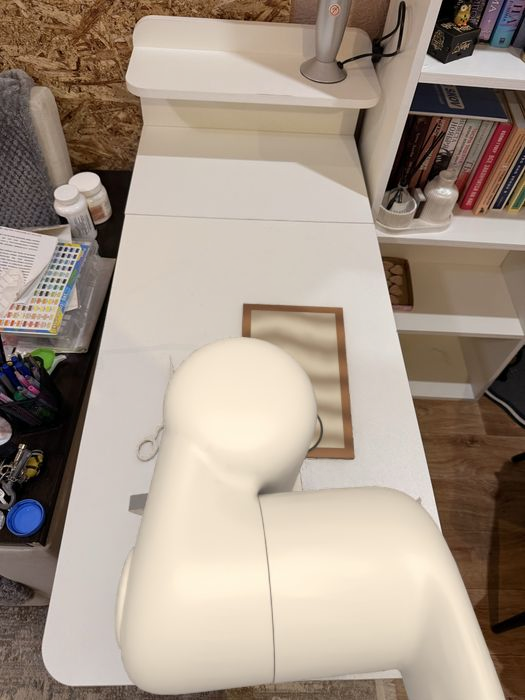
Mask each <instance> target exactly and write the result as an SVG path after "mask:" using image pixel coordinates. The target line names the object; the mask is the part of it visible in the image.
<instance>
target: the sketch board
mask: <svg viewBox="0 0 525 700" xmlns="http://www.w3.org/2000/svg"><path fill="white" fill-rule="evenodd" d="M241 324H242V325H241V337H247V338H255V339H259V340H263V341H267V342H269V343H271V344H274V345H276V346H278V347H280V348H281V349H283V350H284V351H286V352H287V353H289V354H290V355H291V356H292V357H293V358H294V359H295V360H296V361H297V362H298V363H299V364H300V365H301V366H302V368H303V369H304V371H305V372H306V374H307V375H308V377H309V379H310V381H311V383H312V386H313V388H314V392H315V396H316V401H317V423H316V428H315V432H314V436H313V439H312V442H311V444H310V447H309V449H308V452H307V454H306V457H305V459H326V460H327V459H329V460H330V459H331V460H332V459H333V460H355V444H354V434H353V433H354V432H353V420H352V419H353V418H352V408H351V396H350V383H349V368H348V358H347V345H346V333H345V332H346V331H345V321H344V307H341V306H340V307H339V306H338V307H337V306H316V305H315V306H313V305H312V306H311V305H291V304H289V305H288V304H271V303H269V304H265V303H245V302H244V303H243V304H242V323H241Z"/></svg>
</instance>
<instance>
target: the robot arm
mask: <svg viewBox="0 0 525 700" xmlns="http://www.w3.org/2000/svg"><path fill="white" fill-rule="evenodd" d="M162 423H164V427H163V428H162V433H161V437H160V441H159V445H158V447H159V448H158V451H157V455H156V459H155V463H154V466H153V467H154V468H153V473H152V477H151V480H150V485H149V489H148V493H147V492H146V493H139V494H132V495H130V496H129V503H128V510H127V511H128V512H129V513H132V514H134V515H137V516H141V520H140V523H139V528H138V531H137V535H136V540H135V543H134V546H132V548H131V549H130V550H129V552H128V554H127V556H126V559H125V560H124V563H123V566H122V569H121V573H120V576H119V580H118V585H117V591H116V599H115V606H114V633H115V634H114V635H115V639H116V644H117V647H118V649H119V650H120V657H121V661H122V664H123V667H124V671H125V672H126V675H127V677H128V678H129V680H130V681H131V682H132V684H133V685H135V686H136V687H137V688H138V689H140V690H142V691H144V692H147V693H150V694H153V695H161V696H164V695H165V696H167V695H168V696H169V695H170V696H171V695H172V696H173V695H185V694H186V695H187V694H196V693H204V692H205V693H206V692H213V691H221V690H228V689H237V688H244V687H254V686H261V685H262V686H263V685H269V684H270V685H271V684H272V685H275V684H283V683H291V682H292V683H293V682H301V681H309V680H317V679H326V678H333V677H341V676H351V675H359V674H361V675H362V674H372V673H380V672H385V671H391V670H392V671H393V670H397V671H399V673H400V676H401V680H402V683H403V686H404V689H405V693H406V696H407V700H506V697H505V694H504V691H503V687H502V685H501V682H500V679H499V677H498V676H499V675H498V672H497V671H496V667H495V665H494V662H493V659H492V657H491V654H490V651H489V647H488V646H487V643H486V640H485V637H484V635H483V631H482V630H481V627H480V624H479V621H478V618H477V616H476V613H475V610H474V607H473V604H472V601H471V599H470V596H469V594H468V591H467V588H466V585H465V583H464V580H463V578H462V576H461V572H460V570H459V567H458V565H457V562H456V560H455V558H454V556H453V553H452V552H451V550H450V548H449V545H448V543H447V541H446V539H445V537H444V535H443V533H442V531H441V530H440V527H439V526H438V524H437V522H436V521H435V520H434V518H433V517H432V516H431V514H430V513H429V512H428V511H427V509H426V508H425V507H424V506H423V504H422V505H421V504H420V503H418V502H417V501H416V500H417V499H415V498H414V497H412V496H411V495H409V494H407V493H406V492H404V491H401V490H399V489H396V488H391V487H386V486H379V485H372V486H370V485H368V486H367V485H366V486H349V487H333V488H331V487H330V488H320V489H319V488H318V489H308V490H307V489H306V490H304V488H303V479H302V474H301V469H302V466H303V465H304V462H305V459H306V458H305V457H306V454H307V452H308V449H309V447H310V444H311V442H312V439H313V436H314V432H315V428H316V423H317V401H316V396H315V392H314V388H313V386H312V383H311V381H310V379H309V377H308V375H307V374H306V372H305V371H304V369H303V368H302V366H301V365H300V364H299V363H298V362H297V361H296V360H295V359H294V358H293V357H292V356H291V355H290V354H289V353H287V352H286V351H284V350H283V349H281V348H280V347H278V346H276V345H274V344H271V343H269V342H267V341H263V340H259V339H255V338H247V337H242V336H236V337H226V338H220V339H217V340H214V341H211V342H208V343H205V344H203V346H201V347H199V348H197V349H195V350H194V351H192V353H190V354H189V355H188V356H187V357H186V358H185V359H183V360H182V361H181V363H180V364H179V365H178V367H177V368H176V369H175V370H174V374H173V375H172V377H171V379H170V378H169V381H168V383H167V386H166V390H165V391H164V396H163V399H162Z"/></svg>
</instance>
